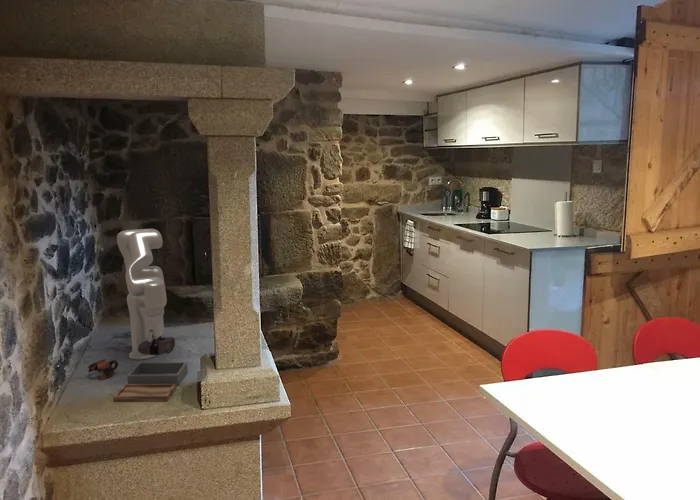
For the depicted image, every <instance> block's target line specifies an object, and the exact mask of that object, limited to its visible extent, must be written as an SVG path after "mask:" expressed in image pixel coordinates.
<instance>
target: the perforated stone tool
mask: <svg viewBox="0 0 700 500" xmlns="http://www.w3.org/2000/svg"><path fill="white" fill-rule="evenodd" d="M153 341H154V342H155V340H153ZM175 344H176V338H174V337H172V336H168V337H163V338H158V339H157V345H158V355H157V356H159V355H165V354H166V355H167V354H171V352H173V350H174V349H175ZM138 351H139V352H140V353H141V354H145V355H150V346H149V342H148V340H147V341H144V342H142V343H140V344H139V346H138Z"/></svg>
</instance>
